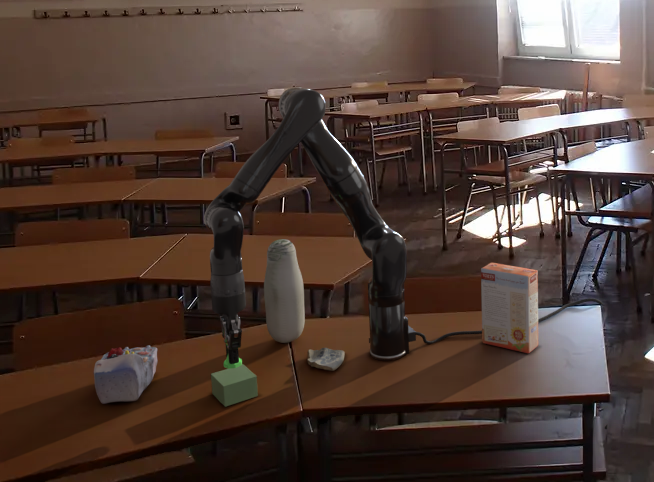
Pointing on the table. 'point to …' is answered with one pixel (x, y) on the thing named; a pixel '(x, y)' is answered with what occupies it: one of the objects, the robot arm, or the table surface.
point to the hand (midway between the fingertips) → (232, 360)
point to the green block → (234, 385)
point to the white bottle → (283, 292)
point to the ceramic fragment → (326, 358)
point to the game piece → (229, 366)
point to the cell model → (124, 373)
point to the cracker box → (509, 307)
